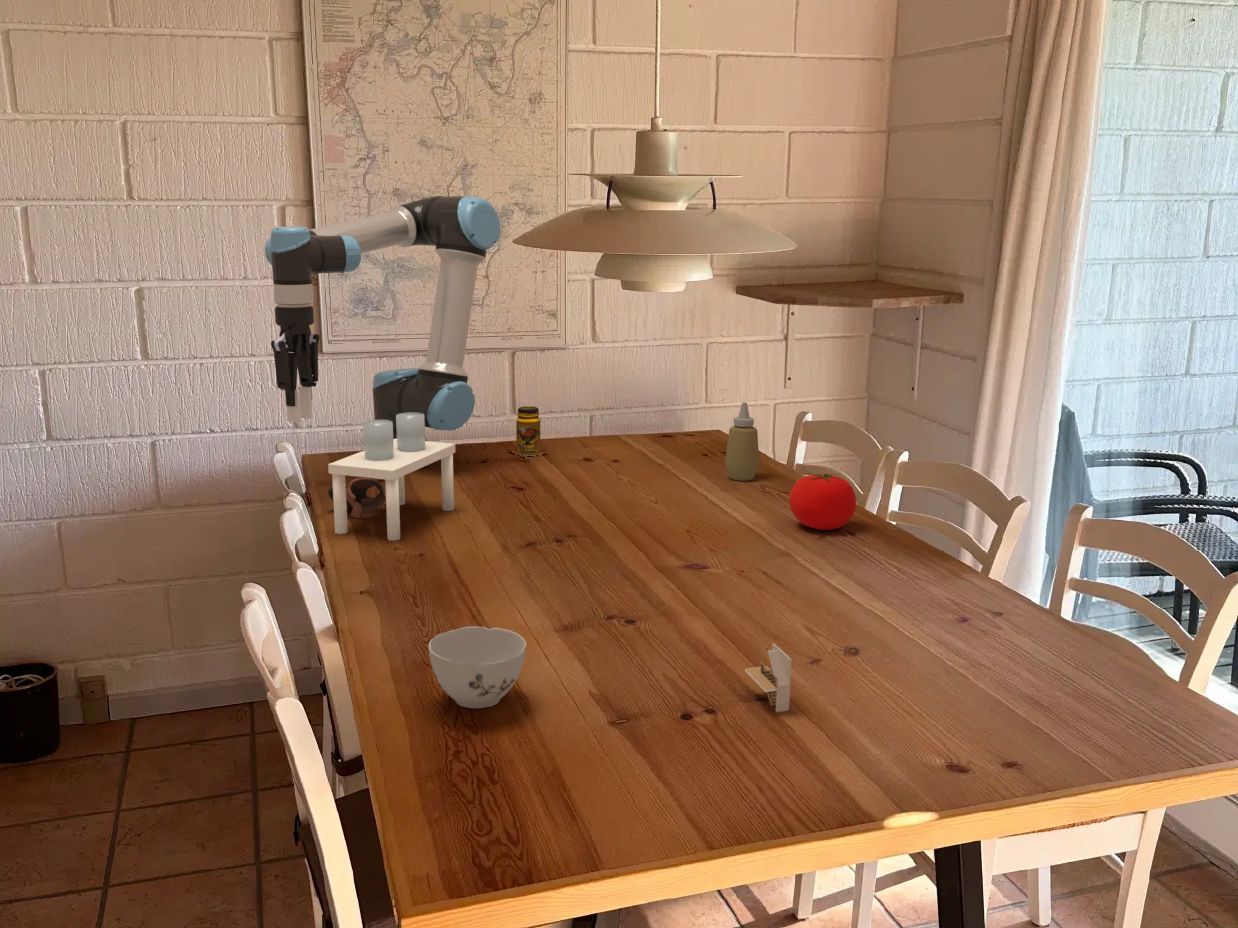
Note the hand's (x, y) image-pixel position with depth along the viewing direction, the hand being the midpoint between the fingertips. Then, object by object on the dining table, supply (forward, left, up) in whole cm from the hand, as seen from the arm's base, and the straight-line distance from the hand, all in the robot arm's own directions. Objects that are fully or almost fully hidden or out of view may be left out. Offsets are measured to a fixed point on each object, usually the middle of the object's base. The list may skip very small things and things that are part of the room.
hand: (300, 419), depth 229 cm
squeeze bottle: (-58, +80, -19) cm, 101 cm away
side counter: (+2, +23, -19) cm, 30 cm away
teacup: (+69, +74, -19) cm, 103 cm away
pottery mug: (0, +12, -19) cm, 23 cm away
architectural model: (+57, +111, -19) cm, 126 cm away
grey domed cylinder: (-3, +24, -5) cm, 25 cm away
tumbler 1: (+6, +22, -5) cm, 23 cm away
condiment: (-63, +23, -19) cm, 70 cm away
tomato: (-25, +104, -19) cm, 109 cm away
